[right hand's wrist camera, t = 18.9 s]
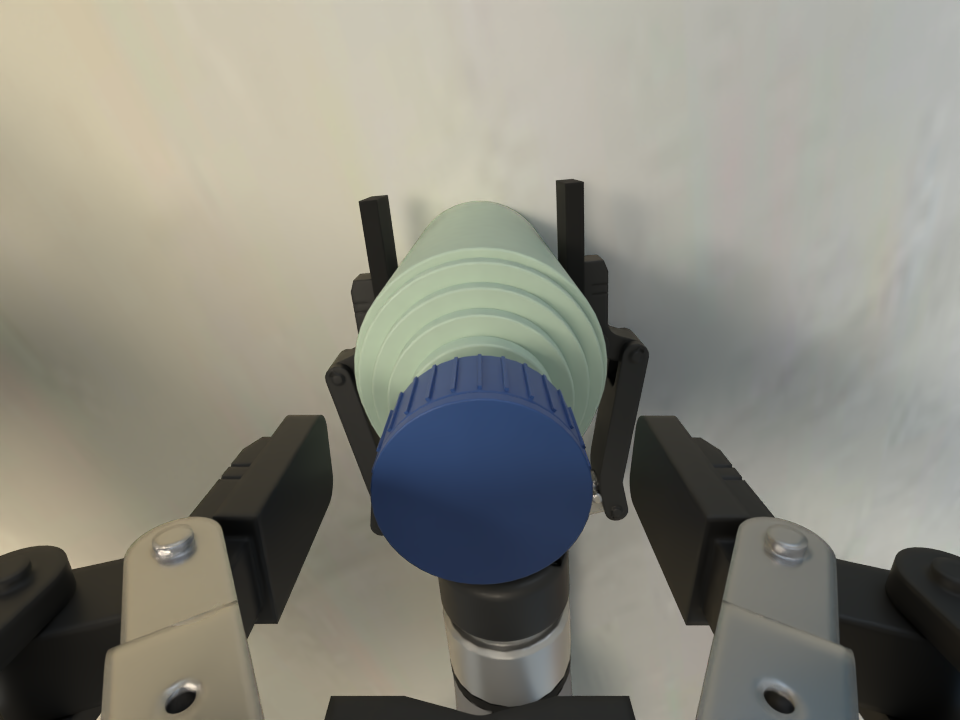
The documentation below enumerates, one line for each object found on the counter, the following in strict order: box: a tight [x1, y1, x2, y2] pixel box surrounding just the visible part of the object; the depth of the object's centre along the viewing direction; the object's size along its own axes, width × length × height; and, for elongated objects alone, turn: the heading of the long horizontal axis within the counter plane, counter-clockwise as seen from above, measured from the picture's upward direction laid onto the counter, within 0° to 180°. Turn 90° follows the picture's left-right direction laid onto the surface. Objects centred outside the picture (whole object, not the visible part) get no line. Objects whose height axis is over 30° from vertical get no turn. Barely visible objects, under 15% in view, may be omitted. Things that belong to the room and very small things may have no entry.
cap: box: [370, 354, 593, 584], centre depth 11 cm, size 4×4×2 cm
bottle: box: [354, 201, 607, 438], centre depth 20 cm, size 8×8×21 cm
